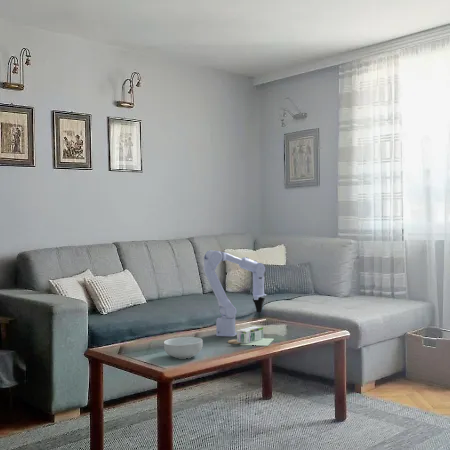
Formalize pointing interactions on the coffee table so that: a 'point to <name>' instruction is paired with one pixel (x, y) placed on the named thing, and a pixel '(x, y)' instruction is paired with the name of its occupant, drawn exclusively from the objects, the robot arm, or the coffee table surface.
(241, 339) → the syrup box
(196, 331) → the coffee table surface
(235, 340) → the cork coaster
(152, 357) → the coffee table surface
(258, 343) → the mat
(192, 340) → the cereal bowl
